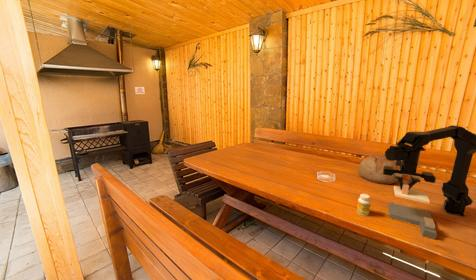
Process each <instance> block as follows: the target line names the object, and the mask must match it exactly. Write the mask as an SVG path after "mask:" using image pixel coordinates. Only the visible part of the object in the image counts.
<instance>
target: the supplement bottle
mask: <svg viewBox="0 0 476 280" xmlns="http://www.w3.org/2000/svg"><path fill="white" fill-rule="evenodd" d="M370 197H371V196H370V195H368V194H367V193H360V195H359V198H358V199H357V205H356V206H357V207H356V212H357V214H359V215H361V216H364V217H365V216H369V214H370V210H371V202H372V201H371V200H370Z"/></svg>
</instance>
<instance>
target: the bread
mask: <svg viewBox="0 0 476 280" xmlns="http://www.w3.org/2000/svg"><path fill="white" fill-rule="evenodd" d="M395 164H396V161H389V160H388V159H387V158H386V156H385V154H384V155H383V154H382V155H379V154H372V155H370V156H368V157H366V158H365V157H364V159H363V160H361V161H360V163H359V165H358V168H357V169H358V174H359V175H360V177H362V178H363V179H365V180H366V181H369V182H371V183H375V184H379V185H380V184H381V185H391V184H395V183H397V182H399V181H398V179H397V178H395V176H394V174H393V175H392V176H390V175H384V174H383V167H384V166H390V167H393V168H394V169H395V170H400V169H399V166H396V165H395Z"/></svg>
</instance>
